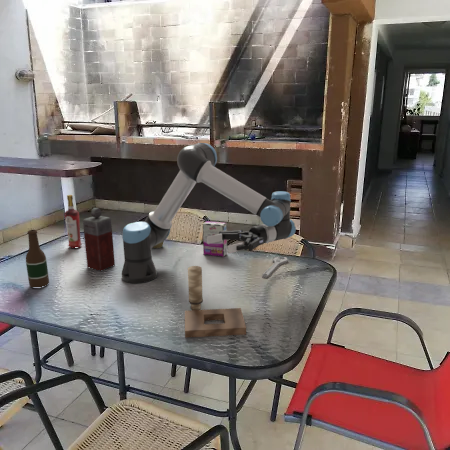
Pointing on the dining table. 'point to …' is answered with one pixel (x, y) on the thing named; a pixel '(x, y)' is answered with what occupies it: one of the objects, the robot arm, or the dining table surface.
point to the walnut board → (230, 326)
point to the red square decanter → (98, 241)
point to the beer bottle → (36, 262)
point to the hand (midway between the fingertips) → (217, 244)
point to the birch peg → (195, 287)
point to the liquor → (72, 224)
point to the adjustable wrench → (274, 266)
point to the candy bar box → (215, 247)
